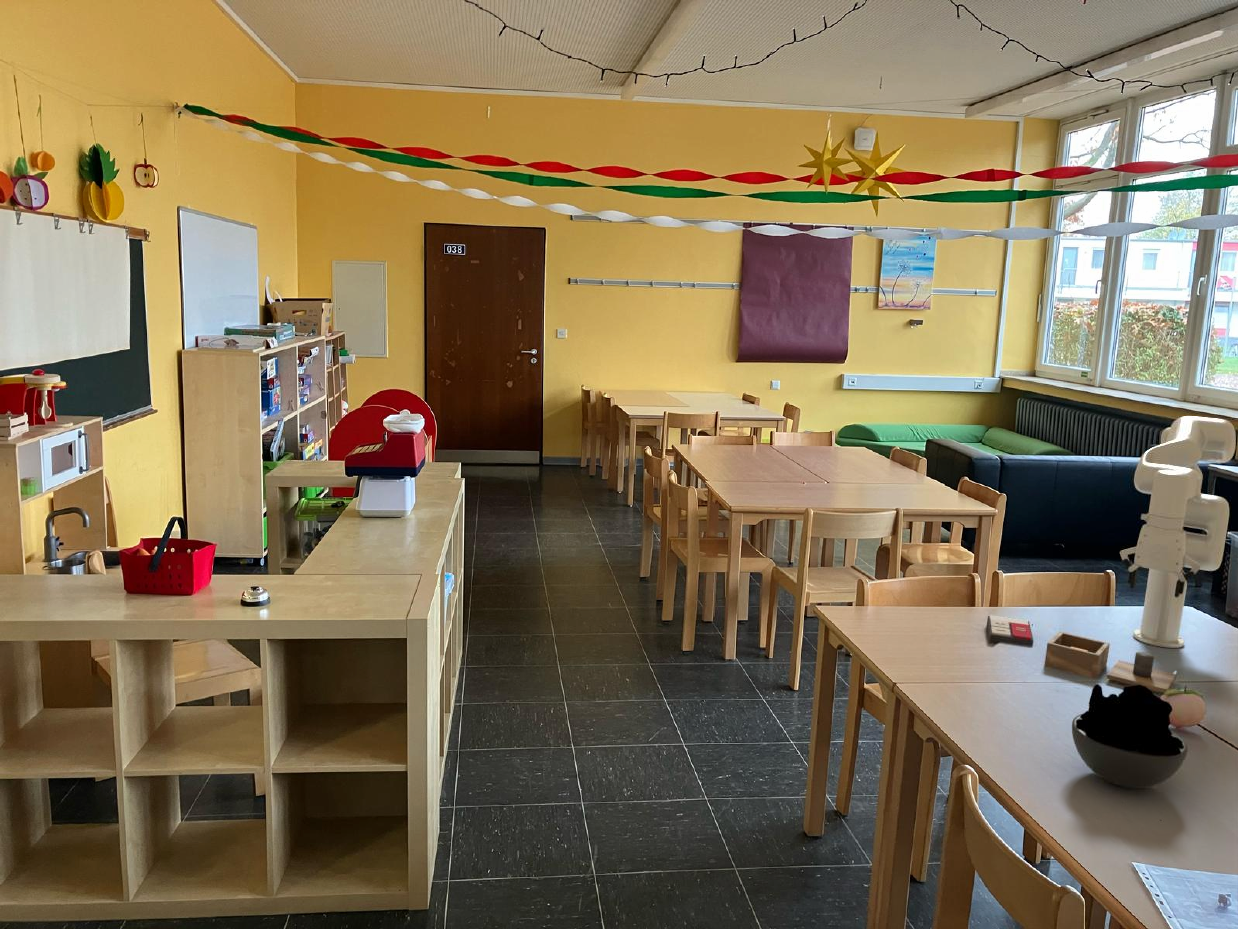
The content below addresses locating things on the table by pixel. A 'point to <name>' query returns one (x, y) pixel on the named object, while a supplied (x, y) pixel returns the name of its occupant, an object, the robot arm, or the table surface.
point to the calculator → (1009, 630)
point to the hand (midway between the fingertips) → (1154, 591)
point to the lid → (1142, 674)
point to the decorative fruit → (1185, 707)
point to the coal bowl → (1129, 738)
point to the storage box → (1077, 654)
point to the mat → (1112, 682)
